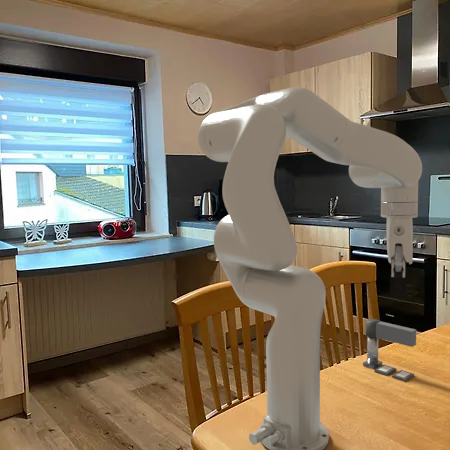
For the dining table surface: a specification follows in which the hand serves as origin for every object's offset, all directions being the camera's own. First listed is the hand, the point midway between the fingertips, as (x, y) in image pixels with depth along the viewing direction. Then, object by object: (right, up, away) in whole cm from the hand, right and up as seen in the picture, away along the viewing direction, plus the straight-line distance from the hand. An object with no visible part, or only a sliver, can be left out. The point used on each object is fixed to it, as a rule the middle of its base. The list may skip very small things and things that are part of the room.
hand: (397, 291), depth 103 cm
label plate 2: (+4, -21, +6) cm, 22 cm away
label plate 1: (+1, -21, +10) cm, 23 cm away
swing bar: (+1, -13, +9) cm, 16 cm away
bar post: (-1, -20, +13) cm, 24 cm away
